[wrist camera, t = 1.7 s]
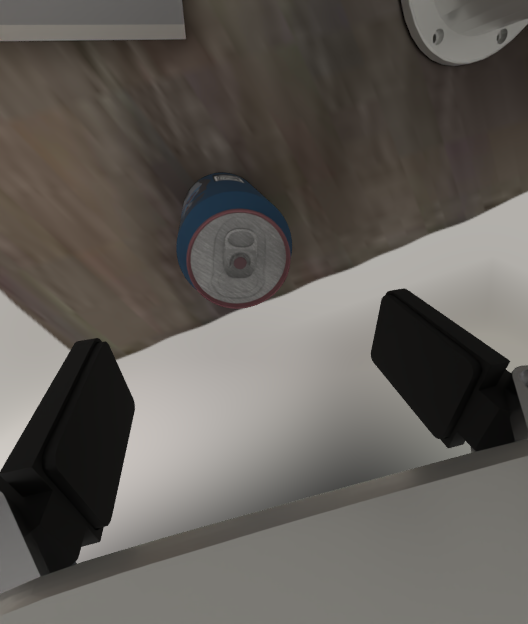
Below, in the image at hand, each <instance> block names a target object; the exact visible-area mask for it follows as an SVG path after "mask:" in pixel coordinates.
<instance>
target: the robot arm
mask: <svg viewBox="0 0 528 624" xmlns="http://www.w3.org/2000/svg"><path fill="white" fill-rule="evenodd" d="M401 4H402V8H403V13H404V18H405V21H406V24H407V26H408V29H409V32H410V34H411V37H412V38H413V40H414V41H415V43H416V44H417V46H418V47H419V49H420V50H421V51H422V52H423V53H424V54H425V55H426V56H428V57H429V58H430V59H431V60H433V61H436V62H438V63H440V64H442V65H450V66H459V65H465V64H470V63H473V62H476V61H479V60H483V59H485V58H487V57H489V56H490V55H492V54H494V53H496V52H498V51H499V50H500V49H502V48H503V47H504V46H505V45H507V44H508V43H509V42H511V41H512V40H513V39H514V38H515V37H516V36H517V35H518V34H519V33H520V32H521V31H522V30H523V28H524V27H525V26H526V25H527V24H528V0H401ZM371 358H372V361H373V362H374V364H375V365H376V366H377V367H378V368H379V370H380V371H381V372H382V373H383V375H384V376H385V377H386V378H387V379H388V380H389V382H390V383H391V384H392V386H393V387H394V388H395V389H396V390H397V392H398V393H399V394H400V395H401V396H402V398H403V399H404V400H405V401H406V403H407V404H408V405H409V406H410V407H411V409H412V410H413V411H414V412H415V414H416V415H417V416H418V417H419V419H420V420H421V421H422V422H423V423H424V425H425V426H426V427H427V428H428V430H429V431H430V432H431V433H432V434H433V435H434V436H435V437H436V438H438V439H441V441H442V442H443V443H444V444H445V445H446V447H447V448H451V447H455V446H459V445H463V444H464V442H465V441H466V442H467V443H468V444H469V445H470V446H471V453H470V454H466V455H463V456H459V457H455V458H451V459H448V460H444V461H440V462H436V463H433V464H429V465H425V466H421V467H418V468H414V469H410V470H406V471H403V472H399V473H396V474H392V475H388V476H385V477H381V478H377V479H373V480H370V481H366V482H362V483H359V484H355V485H352V486H348V487H344V488H341V489H337V490H333V491H330V492H326V493H322V494H319V495H316V496H312V497H308V498H305V499H301V500H297V501H294V502H290V503H286V504H283V505H279V506H275V507H272V508H268V509H265V510H262V511H258V512H254V513H251V514H247V515H243V516H240V517H236V518H233V519H229V520H225V521H222V522H219V523H215V524H211V525H208V526H204V527H200V528H197V529H194V530H190V531H187V532H183V533H179V534H176V535H172V536H168V537H165V538H161V539H158V540H155V541H151V542H148V543H145V544H141V545H138V546H135V547H131V548H128V549H125V550H121V551H118V552H115V553H111V554H108V555H105V556H101V557H98V558H95V559H91V560H88V561H85V562H81V563H79V564H77V563H76V560H77V559H78V556H79V553H80V550H81V547H82V546H86V545H89V544H94V543H97V542H100V540H101V536H102V532H103V527H105V526H108V524H109V523H110V521H111V517H112V513H113V509H114V504H115V499H116V495H117V490H118V486H119V481H120V476H121V472H122V467H123V462H124V458H125V453H126V448H127V444H128V439H129V434H130V430H131V424H132V420H133V415H134V411H135V404H134V400H133V397H132V395H131V393H130V391H129V389H128V387H127V384H126V382H125V380H124V377H123V375H122V373H121V371H120V369H119V366H118V364H117V362H116V360H115V357H114V355H113V353H112V351H111V349H110V346H109V344H108V343H107V342H102V341H101V340H100V339H98V338H95V339H89V340H83V341H78V342H76V343H75V344H74V346H73V347H72V349H71V351H70V352H69V354H68V356H67V358H66V359H65V361H64V363H63V365H62V366H61V368H60V370H59V371H58V373H57V375H56V377H55V378H54V380H53V382H52V383H51V385H50V387H49V389H48V390H47V392H46V394H45V395H44V397H43V399H42V401H41V402H40V404H39V406H38V407H37V409H36V411H35V413H34V414H33V416H32V418H31V420H30V421H29V423H28V425H27V426H26V428H25V430H24V432H23V433H22V435H21V437H20V438H19V440H18V442H17V444H16V445H15V447H14V449H13V451H12V452H11V454H10V456H9V457H8V459H7V461H6V463H5V464H4V466H3V468H2V469H1V472H0V624H528V366H519V367H517V368H515V369H514V370H513V371H512V373H510V372H508V371H507V370H506V368H507V366H508V364H509V362H510V361H509V360H508V359H507V358H505V357H504V356H502V355H501V354H499V353H498V352H496V351H495V350H493V349H492V348H491V347H489V346H488V345H486V344H485V343H483V342H482V341H481V340H479V339H478V338H476V337H475V336H473V335H472V334H470V333H469V332H468V331H466V330H465V329H463V328H462V327H460V326H459V325H457V324H456V323H454V322H453V321H452V320H450V319H449V318H447V317H446V316H444V315H443V314H442V313H440V312H439V311H437V310H436V309H434V308H433V307H431V306H430V305H428V304H427V303H426V302H424V301H423V300H421V299H420V298H418V297H417V296H415V295H414V294H413V293H411V292H410V291H408V290H407V289H398V290H392V291H388V292H387V293H386V295H385V296H384V297H383V298H382V300H381V305H380V310H379V315H378V320H377V325H376V330H375V335H374V340H373V345H372V350H371Z"/></svg>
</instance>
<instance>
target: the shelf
mask: <svg viewBox="0 0 528 624" xmlns="http://www.w3.org/2000/svg"><path fill="white" fill-rule="evenodd" d="M165 39H186V34H185V25H184V15H183V6H182V0H0V41H66V40H165Z"/></svg>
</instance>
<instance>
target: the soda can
mask: <svg viewBox="0 0 528 624" xmlns="http://www.w3.org/2000/svg"><path fill="white" fill-rule="evenodd" d="M291 254H292V239H291V233H290V230H289V227H288V224H287V222H286V220H285V219H284V217H283V215H282V214H281V213H280V212H279V210H278V209H277V208H276V207H275V206H274V205H273V204H272V203H270V202H269V201H268V200H267V199H266V198H265V197H264V196H263V195H262V194H261V193H259V192H258V191H257V190H256V189H255V188H254V187H253V186H252V185H251V184H250V183H248V182H247V181H246V180H244V179H243V178H241V177H239V176H237V175H234V174H230V173H214V174H210V175H207V176H205V177H203V178H201V179H200V180H199V181H197V182H196V183H195V184H194V185H193V186H192V187H191V189H190V190H189V192H188V193H187V195H186V198H185V200H184V204H183V210H182V215H181V221H180V227H179V232H178V238H177V258H178V262H179V265H180V268H181V270H182V272H183V274H184V276H185V278H186V279H187V280H188V282H189V283H190V284H191V285H192V286H193V287H194V288H195V289H196V290H197V291H198V292H199V293H200V294H201V295H202V296H203V297H205V298H206V299H207V300H209V301H211V302H212V303H214V304H217V305H219V306H222V307H227V308H247V307H251V306H255V305H257V304H260V303H262V302H264V301H265V300H267V299H268V298H270V297H271V296H272V295H273V294H275V293H276V292H277V291H278V289H279V288H280V287H281V286H282V284H283V283H284V281H285V279H286V277H287V275H288V272H289V267H290V259H291Z"/></svg>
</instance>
